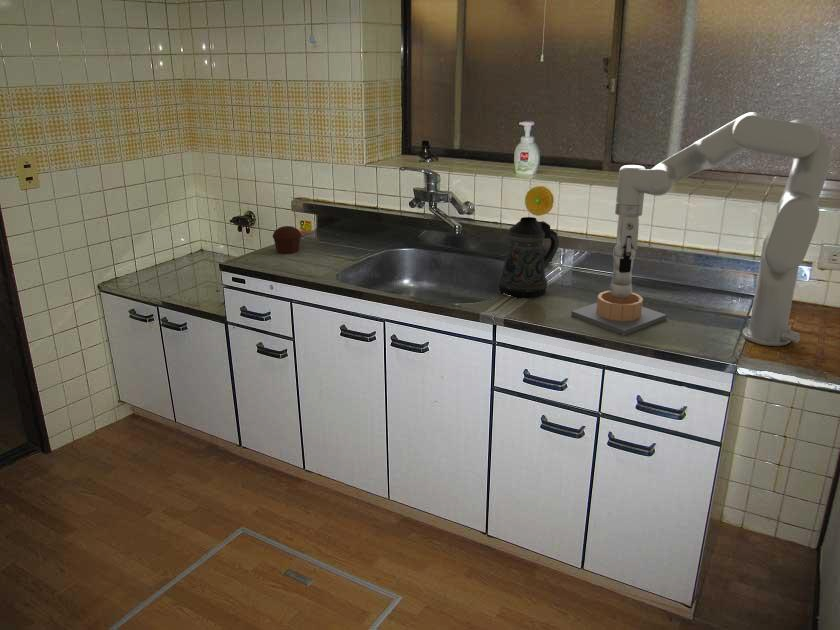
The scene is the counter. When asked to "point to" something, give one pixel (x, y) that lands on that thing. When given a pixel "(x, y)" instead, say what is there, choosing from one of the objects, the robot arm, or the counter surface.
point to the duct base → (619, 325)
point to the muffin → (287, 240)
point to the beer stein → (527, 259)
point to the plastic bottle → (621, 276)
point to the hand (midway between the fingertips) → (623, 267)
